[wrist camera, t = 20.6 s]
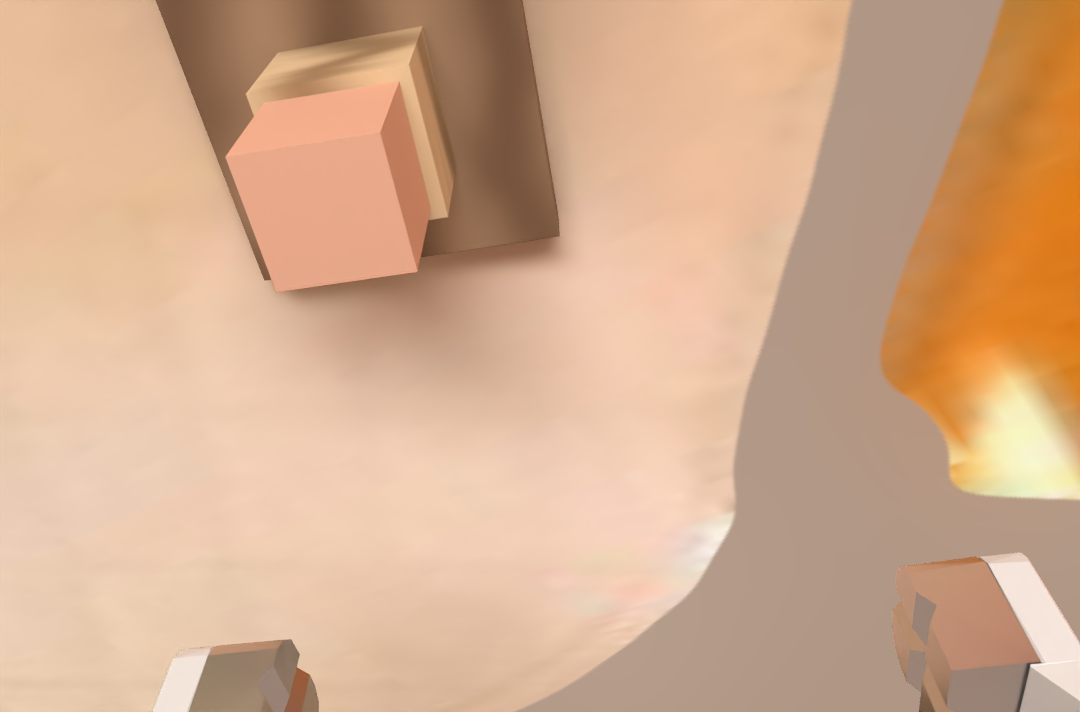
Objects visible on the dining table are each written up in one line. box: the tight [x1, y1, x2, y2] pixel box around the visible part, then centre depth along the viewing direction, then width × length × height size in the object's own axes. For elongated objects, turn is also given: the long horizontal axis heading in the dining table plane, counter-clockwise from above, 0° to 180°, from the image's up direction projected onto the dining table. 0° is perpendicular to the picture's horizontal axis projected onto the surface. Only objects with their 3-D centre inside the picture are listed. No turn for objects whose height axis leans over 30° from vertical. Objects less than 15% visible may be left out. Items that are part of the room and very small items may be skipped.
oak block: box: [246, 26, 456, 220], centre depth 36 cm, size 6×6×5 cm
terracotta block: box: [225, 81, 431, 292], centre depth 32 cm, size 5×5×5 cm
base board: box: [156, 0, 559, 280], centre depth 39 cm, size 14×14×2 cm
